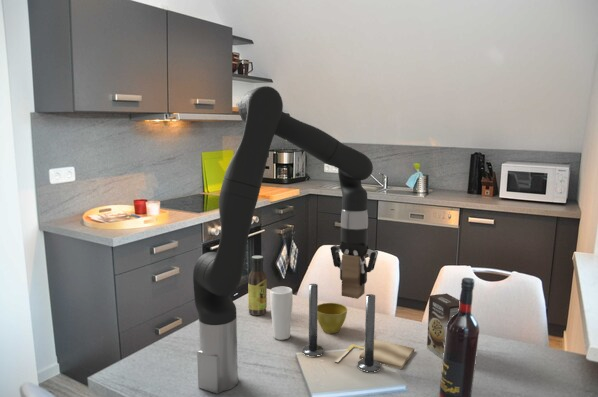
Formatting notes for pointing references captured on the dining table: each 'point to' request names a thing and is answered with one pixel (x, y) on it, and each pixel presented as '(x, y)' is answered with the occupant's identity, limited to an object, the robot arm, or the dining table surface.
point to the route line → (355, 347)
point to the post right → (369, 337)
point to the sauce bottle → (257, 287)
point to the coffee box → (440, 320)
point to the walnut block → (351, 277)
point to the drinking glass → (281, 311)
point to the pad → (390, 353)
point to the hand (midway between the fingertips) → (353, 283)
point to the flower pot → (331, 316)
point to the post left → (313, 323)
